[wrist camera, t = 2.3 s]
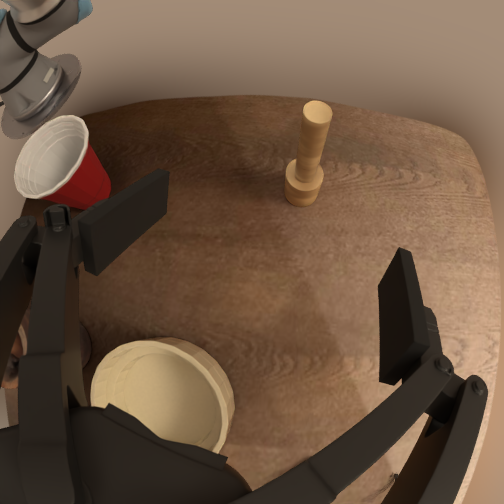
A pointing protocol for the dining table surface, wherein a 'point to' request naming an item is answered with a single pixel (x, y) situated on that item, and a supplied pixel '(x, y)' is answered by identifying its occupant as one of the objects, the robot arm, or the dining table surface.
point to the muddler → (308, 156)
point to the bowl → (168, 390)
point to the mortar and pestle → (21, 347)
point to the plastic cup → (62, 165)
